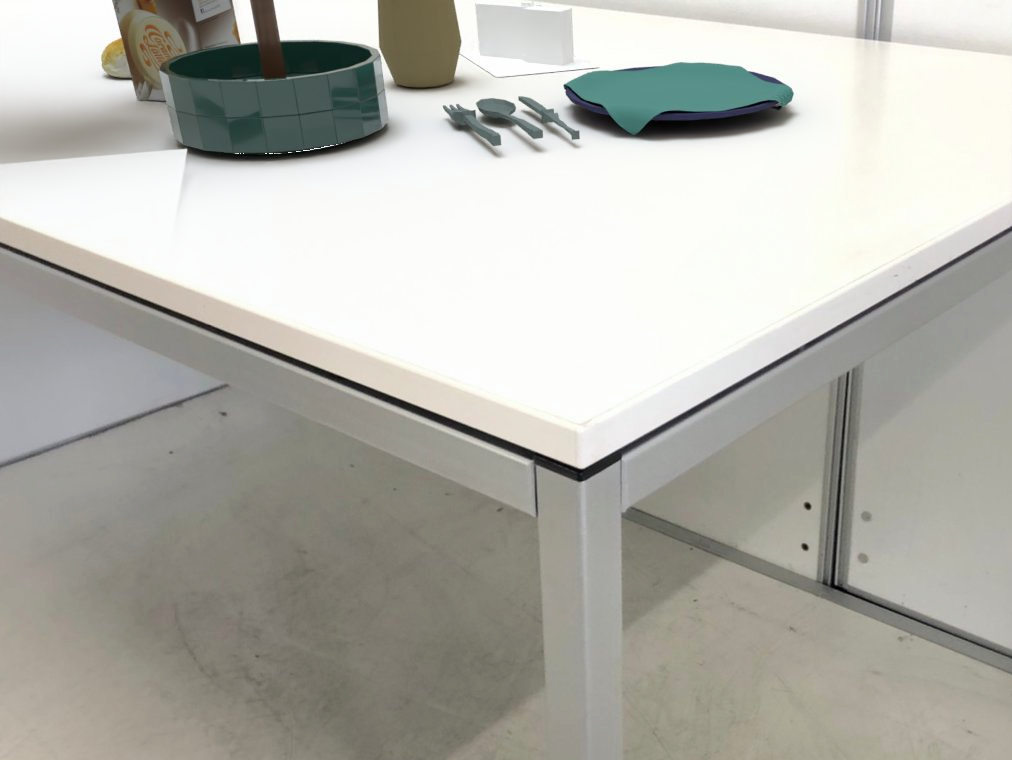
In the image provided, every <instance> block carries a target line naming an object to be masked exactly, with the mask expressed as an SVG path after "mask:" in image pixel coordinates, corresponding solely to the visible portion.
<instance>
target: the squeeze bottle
mask: <svg viewBox="0 0 1012 760" xmlns="http://www.w3.org/2000/svg"><path fill="white" fill-rule="evenodd" d="M377 24H378V25H377V26H378V27H377V28H378V48H379V51H380V52H381V56H382V57H383V59H384V62H385V63H386V66H387V68H388V70H389V73H390V75H391V77H392V80H393V81H394V83H395V84H396V85H398V86H402V87H407V88H415V89H416V88H417V89H419V88H420V89H422V88H423V89H424V88H425V89H426V88H434V87H439V86H444V85H447V84H450V83H452V82H454V80H455V76H456V71H457V67H458V62H459V56H460V52H461V47H462V36H461V31H460V26H459V21H458V14H457V10H456V4H455V0H377Z"/></svg>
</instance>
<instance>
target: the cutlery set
mask: <svg viewBox="0 0 1012 760" xmlns="http://www.w3.org/2000/svg"><path fill="white" fill-rule="evenodd" d="M563 90H565V92H564V93H565V96H566V98H568V99H569V101H570V102H571V103H572V104H574V105H576V106H577V107H580V108H582V109H585V110H588V111H590V112H593V113H595V114H601V115H605V116H610V117H611V118H612V119H613V121H614V122H615V123H616V124H617V125H618V126H619V127H620V128H622V130H625V131H626V132H628V133H629V134H631V135H632V136H636V135H637V134H638V133H640V131H641V130H643V128H644V127H645V126H646V125H647V124H648V123H649V122H651V121H696V120H697V121H698V120H711V119H724V118H728V117H736V116H742V115H746V114H753V113H756V112H759V111H763V110H766V109H768V108H771V109H774V110H775V111H781V110H782V109H783V108H784V107H785V106H787V105H788V104H790V103H791V102H792V101H793V98H794V95H795V93H794V90H793V88H792V87H791V86H789V85H788V84H786V83H784V82H782V81H781V80H779V79H777V78H776V77H773V76H769V75H766V74H763V73H759V72H756V71H750V70H749V71H748V70H747V69H746V68H745V67H743V66H741V65H740V66H739V65H731V64H723V63H716V62H715V63H714V62H713V63H712V62H687V61H686V62H683V61H680V62H674V63H669V64H665V65H656V66H655V65H654V66H640V67H639V66H638V67H629V68H622V69H615V70H608V69H607V70H604V69H603V70H592V71H589V72H586V73H584V74H581V75H579V76H578V77H575V78H573V79H571V80H569V81H567V82H565V83H564V84H563ZM517 101H519V102H520V103H521V104H524V106H526V107H528V108H529V109H531V110H532V111H533V112H534V113H536V114H537V115H539V116H541V117H540V119H541V124H548V123H554V124H555V125H557V126H559V127H560V128H562V129H563V130H565V131H566V132H567V133H568V134H569V135H570V136H571V140H572V141H574V140H580V137H581V136H580V130H576V129H574V128H572V127H570V126H568V125H567V123H565V121H564V120H562V119H560V117H559V113H558V112H555V108H548V109H547V108H546V107H545V106H544V105H542V104H541V103H540V102H537V101H536V100H535V99H533V98H531V97H529V96H522V95H519V96H518V99H517ZM779 103H780V105H779ZM475 104H476V105H475V106H476V107H477V109H478V111H479V113H481V114H482V115H484V116H486V117H489V118H493V119H506V120H507V121H509V122H511V123H513V124H514V125H516V126H518V127H519V128H520V129H521V130H522V131H524V132H525V133H526V135H528V136H529V137H530V138H532V140H538V139H539V140H540V139H543V138H544V130H543V129H542V128H540V127H538V126H536V125H534V124H532V123H531V122H529V121H528V120H526V119H523V118H520V117H517V116H515V115H513V114H514V113H516V110H517V106H516V103H515V102H512V101H509V100H507V99H502V98H495V97H490V98H489V97H488V98H480V99H479V100H478V101H476V102H475ZM455 106H456V107H455ZM442 108H443V110H444V111H445V113H447V114H448V116H449V117H450V120H452V121H453V122H455V123H457V124H459V125H461V126H469V127H470V128H471V129H472V131H473V132H475V133H476V134H477V135H478V136H479V137H481V138H483V139H485V140H486V141H488V142H489V144H490V145H491V146H492V147H499V146H502V137H501V134H500V133H499V132H496V131H495V130H494V129H492V128H489V127H487V126H485V125H483V123H480V122H479V120H478V119H477V112H476V111H477V110H476V109H473V110H470V109H468V108H465V107H463V106H461V104H460V103H456V104H455V105H453V104H449V107H448V106H446V105H442Z"/></svg>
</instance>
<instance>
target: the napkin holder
mask: <svg viewBox="0 0 1012 760" xmlns="http://www.w3.org/2000/svg"><path fill="white" fill-rule="evenodd" d="M475 16H476V28H477V29H476V30H477V40H478V41H477V42H478V50H471V51H460V52H459V55H461V56H462V57H464V58H466V59H468V60H469V61H470V62H472V63H474V64H475V65H477V66H478V67H480V68H481V69H483V70H484V71H486V72H487V73H489V74H491V75H492V76H494V77H495V78H504V77H513V76H515V77H516V76H524V75H535V74H546V73H555V72H557V73H558V72H566V71H567V72H568V71H575V70H576V71H577V70H586V69H597V68H599V66H597V65H595V64H593V63H591V62H588V61H587V60H586V59H583V58H581V57H579V56H577V55H575V53H574V52H575V51H574V49H575V48H574V29H573V27H574V26H573V25H574V24H573V8H572V7H560V6H558V7H557V6H545V5H544V6H543V5H542V4H541V3H535V2H534V1H522V2H514V1H501V0H485V1H480V2H476V3H475Z"/></svg>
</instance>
